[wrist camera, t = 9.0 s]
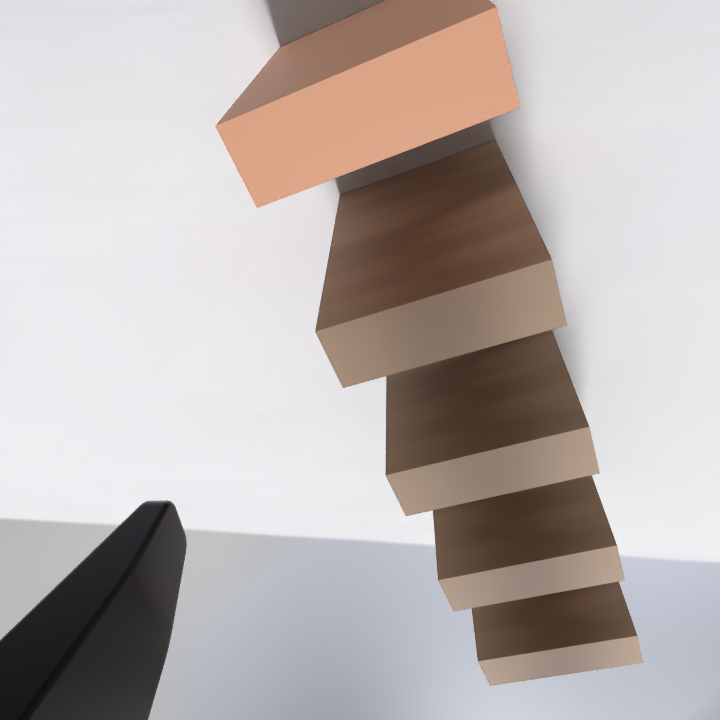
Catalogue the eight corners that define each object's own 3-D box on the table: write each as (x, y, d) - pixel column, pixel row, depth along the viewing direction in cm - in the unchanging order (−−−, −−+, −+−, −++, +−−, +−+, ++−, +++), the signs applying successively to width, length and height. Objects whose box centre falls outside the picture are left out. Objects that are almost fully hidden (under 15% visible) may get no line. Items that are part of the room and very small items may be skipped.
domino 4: (553, 370, 23) (616, 545, 17) (561, 402, 24) (624, 580, 18) (425, 404, 25) (438, 580, 18) (437, 433, 25) (453, 611, 19)
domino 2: (495, 139, 19) (551, 259, 12) (507, 189, 20) (566, 325, 13) (339, 195, 20) (315, 331, 13) (357, 239, 21) (343, 387, 14)
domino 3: (527, 268, 21) (589, 426, 15) (537, 307, 22) (600, 473, 15) (387, 310, 22) (385, 475, 16) (401, 346, 23) (405, 516, 17)
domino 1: (453, -30, 16) (496, 7, 10) (470, 33, 17) (520, 107, 11) (279, 47, 18) (215, 125, 11) (303, 103, 18) (256, 207, 12)
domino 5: (574, 453, 26) (637, 635, 19) (581, 480, 27) (643, 662, 20) (456, 481, 27) (478, 661, 20) (466, 505, 28) (490, 685, 21)
